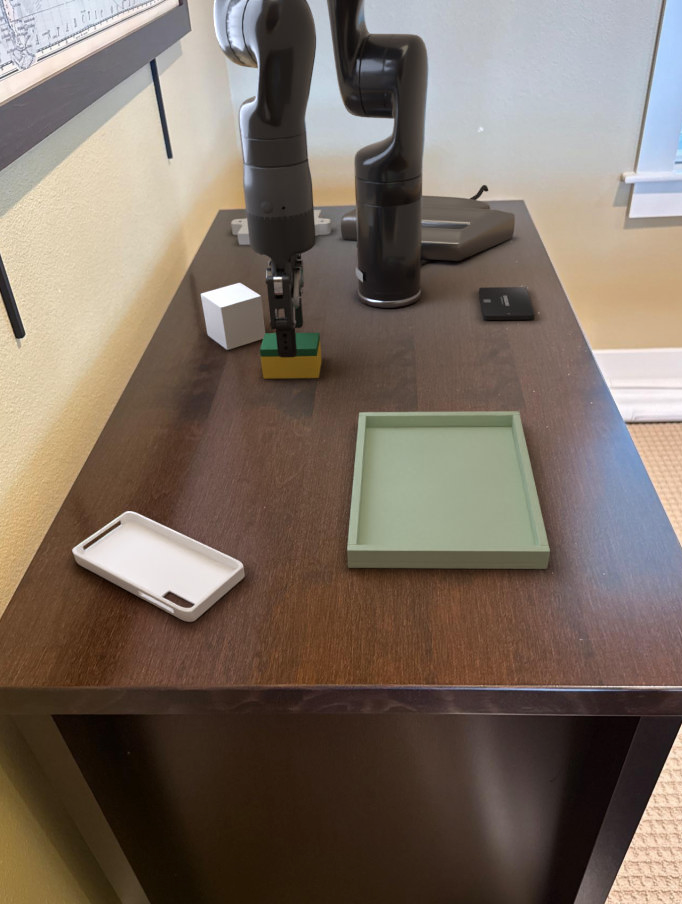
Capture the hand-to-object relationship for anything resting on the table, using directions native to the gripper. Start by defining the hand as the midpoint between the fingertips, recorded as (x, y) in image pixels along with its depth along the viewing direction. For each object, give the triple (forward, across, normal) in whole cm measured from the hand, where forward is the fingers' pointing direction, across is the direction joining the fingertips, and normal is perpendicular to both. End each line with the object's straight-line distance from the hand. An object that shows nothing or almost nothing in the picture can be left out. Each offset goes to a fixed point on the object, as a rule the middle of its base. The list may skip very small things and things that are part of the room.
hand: (291, 340), depth 96 cm
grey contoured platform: (+4, +48, -19) cm, 52 cm away
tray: (+5, -26, -17) cm, 31 cm away
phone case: (+5, -37, +9) cm, 39 cm away
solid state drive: (+4, +19, -29) cm, 35 cm away
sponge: (+4, +1, 0) cm, 4 cm away
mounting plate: (+4, +54, +7) cm, 54 cm away
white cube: (+4, +11, +9) cm, 15 cm away
